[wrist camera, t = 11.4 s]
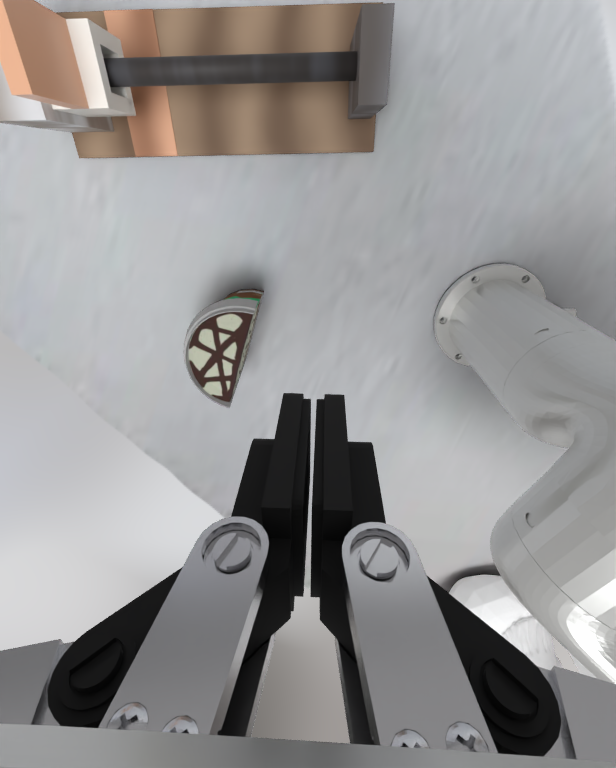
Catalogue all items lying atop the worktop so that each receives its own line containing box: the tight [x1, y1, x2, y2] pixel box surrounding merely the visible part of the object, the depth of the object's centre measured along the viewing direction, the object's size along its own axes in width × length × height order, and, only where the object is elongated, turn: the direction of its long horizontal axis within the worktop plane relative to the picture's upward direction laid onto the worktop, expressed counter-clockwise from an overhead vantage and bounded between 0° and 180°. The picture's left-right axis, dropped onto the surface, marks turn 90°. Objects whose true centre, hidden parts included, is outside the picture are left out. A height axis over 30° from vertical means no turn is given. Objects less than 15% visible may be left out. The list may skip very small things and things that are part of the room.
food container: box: [184, 289, 264, 408], centre depth 40 cm, size 12×6×10 cm, turn 162°
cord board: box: [0, 2, 395, 158], centre depth 28 cm, size 28×10×12 cm, turn 91°
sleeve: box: [0, 0, 136, 117], centre depth 24 cm, size 4×5×11 cm
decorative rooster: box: [449, 575, 563, 670], centre depth 62 cm, size 25×16×25 cm, turn 96°
